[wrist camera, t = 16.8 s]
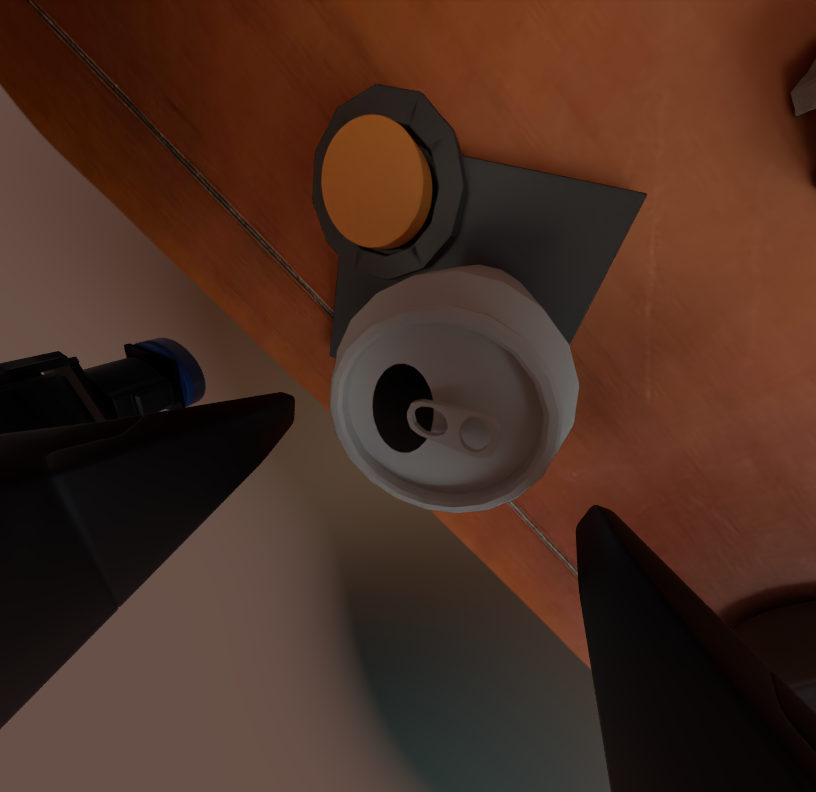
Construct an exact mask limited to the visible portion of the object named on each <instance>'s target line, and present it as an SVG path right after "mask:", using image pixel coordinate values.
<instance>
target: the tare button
mask: <svg viewBox="0 0 816 792" xmlns="http://www.w3.org/2000/svg"><path fill="white" fill-rule="evenodd" d="M321 184H322V194H323V199H324V203H325V206H326V209H327V212H328V214H329V216H330V218H331V220H332V222H333V224H334V225H335V227H336V228H337V229H338V230H339V232H340V233H341V234H342V235H343V236H344V237H346V238H347V239H348V240H350V241H351V242H353V243H355V244H357V245H359V246H362V247H367V248H378V249H392V248H396V247H399V246H401V245H404V244H405V243H407V242H408V241H410V240H411V239H412V238H413V237H414V236H415V235H416V234H417V233H418V232H419V231H420V229H421V228H422V226H423V224H424V223H425V221H426V219H427V216H428V214H429V210H430V207H431V201H432V190H433V189H432V178H431V172H430V169H429V165H428V163H427V161H426V158H425V156H424V155H423V153H422V151H421V150H420V149H419V147H418V146H417V144H416V143H415V142H414V140H413V139H412V138H411V136H410V135H409V134H408V132H407V131H406V130H405V129H404V128H403V127H402V126H401V125H400V124H398V123H397V122H396V121H394V120H392V119H390V118H388V117H386V116H382V115H376V114H369V115H363V116H359V117H357V118H355V119H352V120H351V121H349V122H348V123H346V124H345V125H344V126H343V127H342V128H341V129H340V130H339V131H338V132H337V133H336V135H335V136H334V138H333V139H332V141H331V143H330V145H329V147H328V149H327V152H326V155H325V158H324V162H323V167H322V180H321Z"/></svg>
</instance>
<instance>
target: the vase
mask: <svg viewBox="0 0 816 792" xmlns="http://www.w3.org/2000/svg"><path fill="white" fill-rule="evenodd" d="M733 631H734V632H735V633H736V634H737V635H738V636H739V637H740V638H741V639H742V640H743V641H744V642H745V643H746V644H747V645H748V646H749V647H750V648H751V649H752V650H753V651H754V652H755V653H756V654H757V655H758V656H759V657H760V658H761V659H762V660H763V661H764V662H765V663H766V664H767V665H768V666H769V669H770V671H773V672H775V673H776V674H777V675H778V676H779V677H780V678H781V679H782V680H783V681H784V682H785V683H786V684H787V685H788V686H789V687H790V688H791V689H792V690H793V691H794V692H795V693H796V694H797V695H798V696H799V697H800V698H801V699H802V700H803V701H804V702H805V703H806V704H807V705H808V706H809V707H810V708H811V709H812V710H813V711H814V712H815V713H816V601H815V602H807V603H800V604H794V605H789V606H784V607H780V608H776V609H773V610H770V611H767V612H764V613H762V614H759V615H757V616H755V617H753V618H751V619H749V620H747V621H746V622H744V623H742V624H741V625H740V626H738V627H737V628H736V629H734V630H733Z"/></svg>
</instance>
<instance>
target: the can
mask: <svg viewBox="0 0 816 792" xmlns="http://www.w3.org/2000/svg"><path fill="white" fill-rule="evenodd" d="M578 391H579V382H578V378H577V374H576V370H575V366H574V362H573V358H572V354H571V350H570V346H569V344H568V342H567V341H566V340H565V338H564V337H563V336H562V334H561V333H560V331H559V330H558V329H557V327H556V326H555V324H554V323H553V322H552V320H551V319H550V318H549V316H548V315H547V313H546V312H545V311H544V309H543V308H542V307H541V306H540V304H539V303H538V302H537V301H536V300H535V299H534V298H533V296H532V295H531V294H530V293H529V292H528V291H527V289H526V288H525V287H524V286H523V285H522V284H521V283H520V282H519V281H518V280H516V279H515V278H513V277H512V276H510V275H509V274H507V273H506V272H504V271H503V270H501V269H497V268H493V267H489V266H484V265H480V264H479V265H470V266H461V267H454V268H449V269H444V270H439V271H434V272H429V273H424V274H419V275H414V276H411V277H409V278H407V279H405V280H403V281H401V282H399V283H397V284H395V285H393V286H391V287H389V288H387V289H385V290H383V291H380V292H378V293H376V295H375V296H374V297H373V298H372V299H371V300H370V301H369V302H368V303H367V304H366V305H365V306H364V307H363V308H362V309H361V310H360V311H359V312H358V313H357V314H356V315H355V316H354V317H353V318H352V319H351V321H350V323H349V325H348V328H347V330H346V332H345V334H344V337H343V339H342V341H341V343H340V346H339V348H338V350H337V357H336V366H335V369H334V371H333V373H332V376H331V388H330V400H329V406H330V411H331V415H332V419H333V423H334V427H335V432H336V434H337V436H338V438H339V440H340V442H341V444H342V445H343V447H344V449H345V451H346V452H347V454H348V456H349V458H350V459H351V461H352V462H353V463H354V464H355V465H356V466H357V467H358V468H359V469H360V470H361V471H362V472H363V473H364V474H365V475H366V476H367V477H368V479H369V480H370V481H372V482H373V483H375V484H376V485H378V486H379V487H381V488H382V489H384V490H385V491H387V492H388V493H390V494H391V495H393V496H394V497H396V498H398V499H401V500H403V501H406V502H408V503H411V504H414V505H416V506H419V507H421V508H424V509H430V510H437V511H445V512H452V513H461V512H471V511H481V510H488V509H491V508H493V507H496V506H498V505H501V504H503V503H506V502H508V501H511V500H514V499H516V498H518V497H519V496H520V495H522V494H523V493H524V492H525V491H526V490H528V489H529V488H530V487H531V486H532V485H534V484H535V483H536V482H537V481H539V480H540V479H541V478H542V477H543V475H544V474H545V472H546V470H547V468H548V467H549V465H550V463H551V461H552V460H553V458H554V456H556V454H557V452H558V451H559V449H560V447H561V445H562V444H563V442H564V440H565V438H566V437H567V435H568V433H569V431H570V430H571V428H572V426H573V424H574V419H575V412H576V405H577V398H578Z"/></svg>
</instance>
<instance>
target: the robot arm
mask: <svg viewBox="0 0 816 792" xmlns="http://www.w3.org/2000/svg"><path fill="white" fill-rule="evenodd" d="M124 350H125V354H126V357H127V358H125V359H122V360H118V361H114V362H111V363H107V364H103V365H99V366H96V367H92V368H88V369H85V370H83V369H82V368H81V366H80V365H79V361H78V359H77V357H71V358H67V356H65V355H64V354H62V353H61V352H59V351H57V352H52V353H48V354H42V355H38V356H33V357H29V358H24V359H19V360H14V361H10V362H5V363H1V364H0V729H1V728H2V727H3V726H4V725H5V724H6V723H7V722H8V721H9V720H10V719H11V718H12V717H13V716H14V715H15V714H16V713H17V712H18V711H19V710H20V708H22V707H23V705H24V704H25V703H26V702H27V701H28V700H29V699H30V698H31V697H32V696H33V695H34V694H35V693H36V692H37V691H38V690H39V689H40V688H41V687H42V686H43V685H44V684H45V683H46V682H47V681H48V680H49V679H50V678H51V677H52V676H53V675H54V674H55V673H56V672H57V671H58V670H59V669H60V668H61V667H62V666H63V665H64V664H65V663H66V662H67V660H69V659H70V658H71V657H72V655H74V654H75V653H76V652H77V651H78V650H79V648H80V647H81V646H82V645H83V644H84V643H85V642H86V641H87V640H88V639H89V638H90V637H91V636H92V635H93V634H94V633H95V632H96V631H97V630H98V629H99V628H100V627H101V626H102V625H103V624H104V623H105V622H106V621H107V620H108V619H109V618H110V617H111V616H112V615H113V614H114V613H115V612H116V611H117V610H118V607H120V606H121V605H122V604H123V603H124V602H125V601H126V600H127V599H128V598H129V597H130V596H131V595H132V594H133V593H134V592H135V591H136V590H137V589H138V588H139V587H140V586H141V585H142V584H143V583H144V582H145V581H146V580H147V579H148V578H149V577H150V576H151V575H152V574H153V573H154V572H155V571H156V570H157V569H158V568H159V567H160V566H161V565H162V564H163V563H164V562H165V561H166V560H167V559H168V558H169V556H171V554H172V553H173V552H174V551H175V550H176V549H177V548H178V547H179V546H180V545H181V544H182V543H183V542H184V541H185V540H186V539H187V538H188V537H189V536H190V535H191V534H192V533H193V532H194V531H195V530H196V529H197V528H198V527H199V526H200V525H201V524H202V523H203V522H204V521H205V520H206V519H207V518H208V517H209V516H210V515H211V514H212V513H213V511H215V510H216V508H218V507H219V506H220V505H221V503H223V502H224V500H225V499H226V498H227V497H228V496H229V495H230V494H231V493H232V492H233V491H234V490H235V489H236V488H237V487H238V486H239V485H240V484H241V483H242V482H243V481H244V480H245V479H246V478H247V477H248V476H249V475H250V474H251V473H252V472H253V471H254V470H255V469H256V468H257V467H258V466H259V465H260V464H261V462H262V461H263V460H264V459H265V458H266V457H267V456H268V454H269V453H270V452H271V451H272V449H273V448H274V447H275V446H276V444H277V443H278V442H279V440H280V439H281V438H282V437H283V435H284V434H285V433H286V431H287V430H288V429H289V428H290V427H291V425H292V423H293V421H294V411H295V409H294V408H295V399H294V397H293V396H292V395H289V394H286V393H283V392H278V393H272V394H266V395H260V396H254V397H248V398H242V399H236V400H230V401H223V402H217V403H211V404H205V405H199V406H193V407H187V408H185V402H184V397H183V391H182V385H181V380H180V374H179V368H178V364H177V362H176V361H175V360H174V359H172V358H169V357H166V356H163V355H161V354H158V353H155V352H153V351H150V350H147V349H144V348H142V347H139V346H136V345H133V344H130V343H128V344H125V345H124ZM41 372H44V374H45V375H42V374H41ZM166 408H169V409H171V410H168V411H162V412H159V411H161V410H164V409H166ZM576 547H577V567H578V584H579V594H580V601H581V607H582V613H583V619H584V626H585V632H586V638H587V645H588V651H589V657H590V663H591V670H592V676H593V682H594V688H595V694H596V701H597V707H598V713H599V719H600V725H601V732H602V738H603V744H604V751H605V757H606V763H607V770H608V776H609V782H610V788H611V792H816V713H815V712H814V711H813V710H812V709H811V708H810V707H809V706H808V705H807V704H806V703H805V702H804V701H803V700H802V699H801V698H800V697H799V696H798V695H797V694H796V693H795V692H794V691H793V690H792V689H791V688H790V687H789V686H788V685H787V684H786V683H785V682H784V681H783V680H782V679H781V678H780V677H779V676H778V675H777V674H776V673H775V672H773V671H770V669H769V666H768V665H767V664H766V663H765V662H764V661H763V660H762V659H761V658H760V657H759V656H758V655H757V654H756V653H755V652H754V651H753V650H752V649H751V648H750V647H749V646H748V645H747V644H746V643H745V642H744V641H743V640H742V639H741V638H740V637H739V636H738V635H737V634H736V633H735V632H734V631H733V630H732V629H731V628H730V627H729V626H728V625H727V624H726V623H725V622H724V621H723V620H722V619H721V618H720V617H719V616H718V615H717V614H716V613H715V612H713V611H712V610H711V609H710V608H709V607H708V606H707V605H706V604H705V603H704V602H703V601H702V600H701V599H700V598H699V597H698V596H697V595H696V594H695V593H694V592H693V591H692V590H691V589H690V588H689V587H688V586H687V585H686V584H685V583H684V582H683V581H682V580H681V579H680V578H679V577H678V576H677V575H676V574H675V573H674V572H673V571H672V570H671V569H670V568H669V567H668V566H667V565H666V564H665V563H664V562H663V561H662V560H661V559H660V558H659V557H658V556H657V555H656V554H655V553H654V552H653V551H652V550H651V549H650V548H649V547H648V546H647V545H646V544H645V543H644V542H643V541H642V540H641V539H640V538H639V537H638V536H637V535H636V534H635V533H634V532H633V531H632V530H631V529H630V528H629V527H628V526H627V525H626V524H625V523H624V522H623V521H622V520H621V519H620V518H619V517H618V516H617V515H616V514H615V513H614V512H613V511H611V510H609V509H607V508H604V507H601V506H598V505H593V506H592V507H591V508H590V509H589V510H588V511H587V513H586V514H585V515H584V517H583V518H582V519H581V521H580V522H579V523H578V525H577V528H576Z"/></svg>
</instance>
